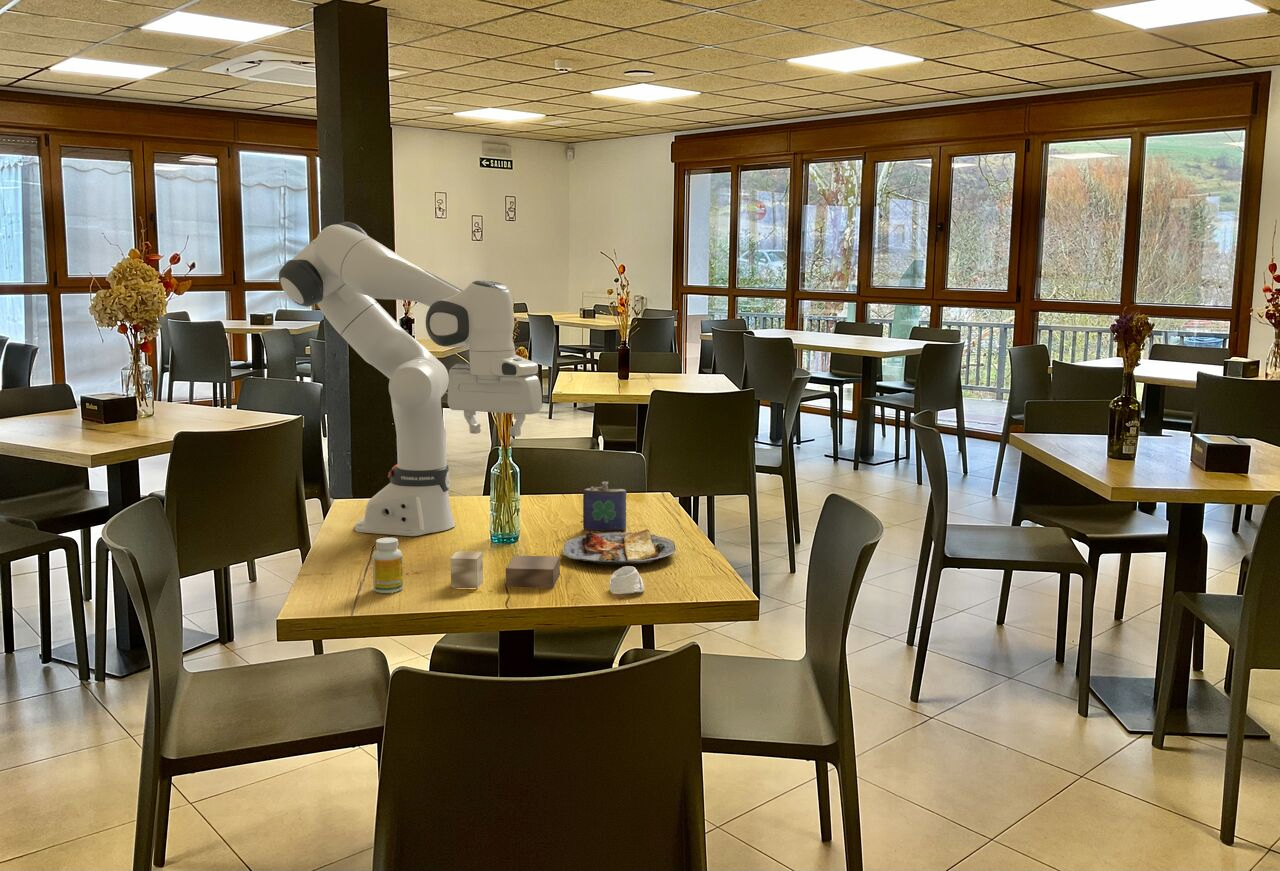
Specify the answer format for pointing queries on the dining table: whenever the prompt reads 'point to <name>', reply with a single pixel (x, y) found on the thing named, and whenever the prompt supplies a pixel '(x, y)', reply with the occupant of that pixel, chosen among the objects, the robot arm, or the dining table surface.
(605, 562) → the food plate
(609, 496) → the flask
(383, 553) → the supplement bottle
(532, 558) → the walnut block
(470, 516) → the dining table surface
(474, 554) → the tan piece
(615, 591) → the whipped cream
